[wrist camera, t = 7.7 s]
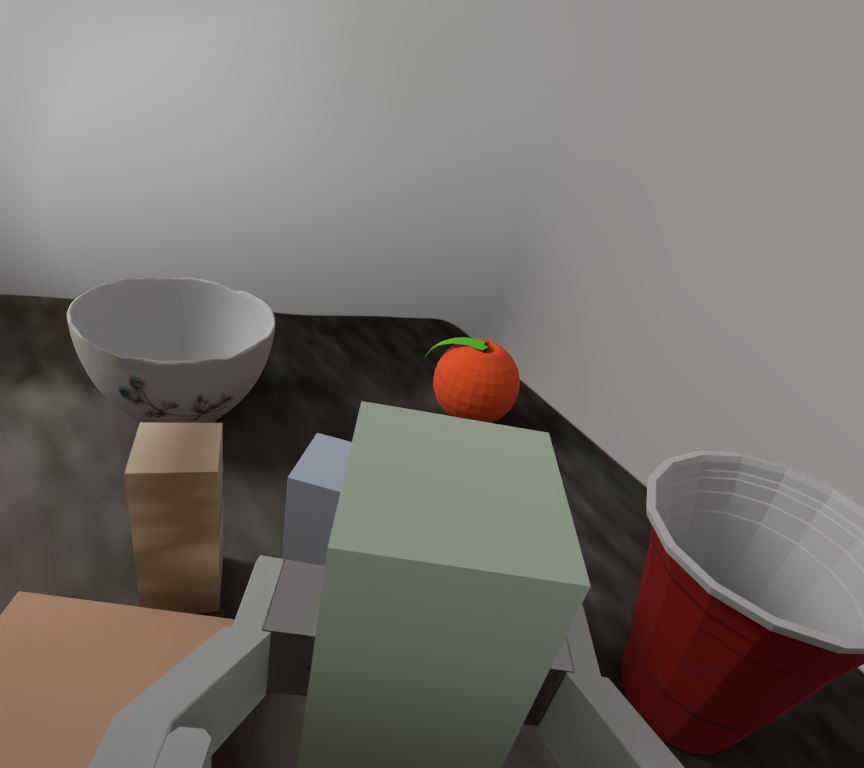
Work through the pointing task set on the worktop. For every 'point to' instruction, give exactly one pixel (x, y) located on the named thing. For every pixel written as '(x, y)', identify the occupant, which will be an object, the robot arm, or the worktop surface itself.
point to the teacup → (171, 346)
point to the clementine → (476, 380)
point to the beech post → (177, 515)
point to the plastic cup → (741, 597)
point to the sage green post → (439, 593)
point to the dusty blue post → (314, 499)
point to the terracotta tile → (81, 671)
